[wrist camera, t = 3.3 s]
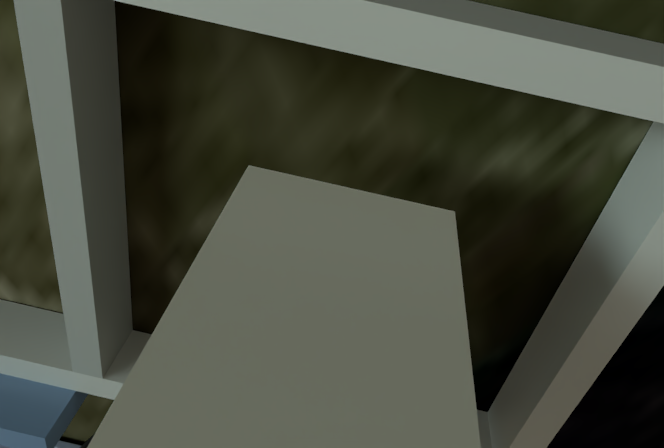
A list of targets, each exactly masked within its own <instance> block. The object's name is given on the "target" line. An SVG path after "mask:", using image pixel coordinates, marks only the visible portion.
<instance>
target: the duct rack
mask: <svg viewBox="0 0 664 448" xmlns="http://www.w3.org/2000/svg"><path fill="white" fill-rule="evenodd" d="M115 1H118V2H123V3H127V4H132V5H136V6H141V7H145V8H150V9H154V10H159V11H163V12H168V13H172V14H177V15H181V16H185V17H190V18H194V19H199V20H203V21H208V22H212V23H217V24H221V25H226V26H230V27H235V28H239V29H244V30H248V31H252V32H257V33H261V34H266V35H270V36H275V37H279V38H284V39H288V40H293V41H297V42H302V43H306V44H311V45H315V46H320V47H324V48H328V49H333V50H337V51H342V52H346V53H351V54H355V55H360V56H364V57H369V58H373V59H378V60H382V61H387V62H391V63H395V64H400V65H404V66H409V67H413V68H418V69H422V70H427V71H431V72H436V73H440V74H445V75H449V76H454V77H458V78H462V79H467V80H471V81H476V82H480V83H485V84H489V85H494V86H498V87H503V88H507V89H512V90H516V91H521V92H525V93H530V94H534V95H538V96H543V97H547V98H552V99H556V100H561V101H565V102H570V103H574V104H579V105H583V106H588V107H592V108H597V109H601V110H605V111H610V112H614V113H619V114H623V115H628V116H632V117H637V118H641V119H646V120H650V121H654V122H653V123H652V125H651V127H650V129H649V130H648V132H647V134H646V136H645V137H644V139H643V141H642V143H641V144H640V146H639V148H638V150H637V151H636V153H635V155H634V157H633V158H632V160H631V162H630V164H629V165H628V167H627V169H626V171H625V172H624V174H623V176H622V178H621V179H620V181H619V183H618V185H617V186H616V188H615V190H614V192H613V193H612V195H611V197H610V199H609V200H608V202H607V204H606V206H605V207H604V209H603V211H602V213H601V214H600V216H599V218H598V220H597V221H596V223H595V225H594V227H593V228H592V230H591V232H590V234H589V235H588V237H587V239H586V241H585V242H584V244H583V246H582V248H581V249H580V251H579V253H578V255H577V256H576V258H575V260H574V262H573V263H572V265H571V267H570V269H569V270H568V272H567V274H566V276H565V277H564V279H563V281H562V283H561V284H560V286H559V288H558V290H557V291H556V293H555V295H554V297H553V298H552V300H551V302H550V304H549V306H548V307H547V309H546V311H545V313H544V314H543V316H542V318H541V320H540V321H539V323H538V325H537V327H536V328H535V330H534V332H533V334H532V335H531V337H530V339H529V341H528V342H527V344H526V346H525V348H524V349H523V351H522V353H521V355H520V356H519V358H518V360H517V362H516V363H515V365H514V367H513V369H512V370H511V372H510V374H509V376H508V377H507V379H506V381H505V383H504V384H503V386H502V388H501V390H500V391H499V393H498V395H497V397H496V398H495V400H494V402H493V404H492V405H491V407H490V409H489V411H488V412H485V411H481V410H477V417H478V426H479V435H480V444H481V448H547V446H548V445H549V443H550V442H551V441H552V439H553V438H554V436H555V435H556V434H557V432H558V431H559V430H560V428H561V427H562V425H563V424H564V423H565V421H566V420H567V418H568V417H569V416H570V414H571V413H572V412H573V410H574V409H575V407H576V406H577V405H578V403H579V402H580V400H581V399H582V398H583V396H584V395H585V394H586V392H587V391H588V389H589V388H590V387H591V385H592V384H593V382H594V381H595V380H596V378H597V377H598V376H599V374H600V373H601V371H602V370H603V369H604V367H605V366H606V364H607V363H608V362H609V360H610V359H611V358H612V356H613V355H614V353H615V352H616V351H617V349H618V348H619V346H620V345H621V344H622V342H623V341H624V340H625V338H626V337H627V335H628V334H629V333H630V331H631V330H632V328H633V327H634V326H635V324H636V323H637V322H638V320H639V319H640V317H641V316H642V315H643V313H644V312H645V310H646V309H647V308H648V306H649V305H650V304H651V302H652V301H653V299H654V298H655V297H656V295H657V294H658V292H659V291H660V290H661V288H662V287H663V286H664V44H662V43H657V42H653V41H648V40H644V39H639V38H635V37H630V36H626V35H621V34H617V33H612V32H608V31H603V30H599V29H594V28H590V27H585V26H581V25H576V24H572V23H567V22H563V21H558V20H554V19H549V18H545V17H540V16H536V15H531V14H527V13H522V12H518V11H513V10H509V9H504V8H500V7H495V6H491V5H486V4H482V3H477V2H473V1H468V0H14V6H15V12H16V19H17V25H18V31H19V37H20V44H21V50H22V56H23V63H24V69H25V75H26V81H27V88H28V94H29V100H30V106H31V113H32V119H33V125H34V132H35V138H36V144H37V150H38V157H39V163H40V169H41V175H42V182H43V188H44V194H45V201H46V207H47V213H48V219H49V226H50V232H51V238H52V245H53V251H54V257H55V263H56V270H57V276H58V282H59V288H60V295H61V301H62V307H63V314H61V313H57V312H53V311H48V310H44V309H40V308H36V307H31V306H27V305H23V304H18V303H14V302H10V301H5V300H1V299H0V445H2V446H7V447H11V448H54V447H55V446H56V444H57V443H58V441H59V439H60V438H61V436H62V435H63V433H64V431H65V430H66V428H67V427H68V425H69V424H70V422H71V420H72V419H73V417H74V416H75V414H76V412H77V411H78V409H79V408H80V406H81V404H82V403H83V401H84V400H85V398H86V397H87V395H88V394H91V395H95V396H100V397H104V398H108V399H113V400H115V398H116V396H117V394H118V393H119V391H120V389H121V387H122V386H123V384H124V382H125V380H126V379H127V377H128V375H129V373H130V372H131V370H132V368H133V366H134V365H135V363H136V361H137V359H138V358H139V356H140V354H141V352H142V351H143V349H144V347H145V345H146V344H147V342H148V340H149V338H150V337H151V335H152V334H148V333H144V332H139V331H135V330H133V325H132V307H131V289H130V271H129V253H128V235H127V217H126V199H125V181H124V163H123V144H122V126H121V108H120V90H119V72H118V54H117V36H116V18H115Z"/></svg>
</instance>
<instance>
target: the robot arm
mask: <svg viewBox="0 0 664 448" xmlns="http://www.w3.org/2000/svg"><path fill="white" fill-rule="evenodd" d="M94 435H95V434H94ZM94 435H92V436H91V437H90V438H89V439H88V440H87V441H86V442H85V443H84V444H83V445H82V446H81V445H77V444H73V443H69V442H64V441H60V440H59V441H58V443H57V444H56V446H55V447H54V448H87V447H88V445H89V443H90V442H91V440H92V438H93V436H94ZM0 448H11V447H7V446H2V445H0Z"/></svg>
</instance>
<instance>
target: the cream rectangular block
mask: <svg viewBox="0 0 664 448" xmlns="http://www.w3.org/2000/svg"><path fill="white" fill-rule="evenodd" d="M87 448H481V444H480V435H479V426H478V417H477V408H476V399H475V390H474V381H473V372H472V363H471V354H470V344H469V335H468V326H467V317H466V308H465V299H464V290H463V281H462V272H461V263H460V254H459V245H458V236H457V227H456V217H455V211H450V210H446V209H441V208H437V207H432V206H428V205H424V204H419V203H415V202H410V201H406V200H401V199H397V198H392V197H388V196H383V195H379V194H375V193H370V192H366V191H361V190H357V189H352V188H348V187H343V186H339V185H334V184H330V183H326V182H321V181H317V180H312V179H308V178H303V177H299V176H294V175H290V174H285V173H281V172H277V171H272V170H268V169H263V168H259V167H254V166H250V165H248V167H247V169H246V171H245V172H244V174H243V176H242V178H241V179H240V181H239V183H238V185H237V186H236V188H235V190H234V192H233V193H232V195H231V197H230V199H229V200H228V202H227V204H226V206H225V207H224V209H223V211H222V213H221V214H220V216H219V218H218V220H217V221H216V223H215V225H214V227H213V228H212V230H211V232H210V234H209V235H208V237H207V239H206V241H205V242H204V244H203V246H202V248H201V249H200V251H199V253H198V255H197V256H196V258H195V260H194V262H193V263H192V265H191V267H190V269H189V270H188V272H187V274H186V276H185V277H184V279H183V281H182V283H181V284H180V286H179V288H178V290H177V291H176V293H175V295H174V297H173V298H172V300H171V302H170V304H169V305H168V307H167V309H166V311H165V312H164V314H163V316H162V317H161V319H160V321H159V323H158V324H157V326H156V328H155V330H154V331H153V333H152V335H151V337H150V338H149V340H148V342H147V344H146V345H145V347H144V349H143V351H142V352H141V354H140V356H139V358H138V359H137V361H136V363H135V365H134V366H133V368H132V370H131V372H130V373H129V375H128V377H127V379H126V380H125V382H124V384H123V386H122V387H121V389H120V391H119V393H118V394H117V396H116V398H115V400H114V401H113V403H112V405H111V407H110V408H109V410H108V412H107V414H106V415H105V417H104V419H103V421H102V422H101V424H100V426H99V428H98V429H97V431H96V433H95V435H94V436H93V438H92V440H91V442H90V443H89V445H88V447H87Z"/></svg>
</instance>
